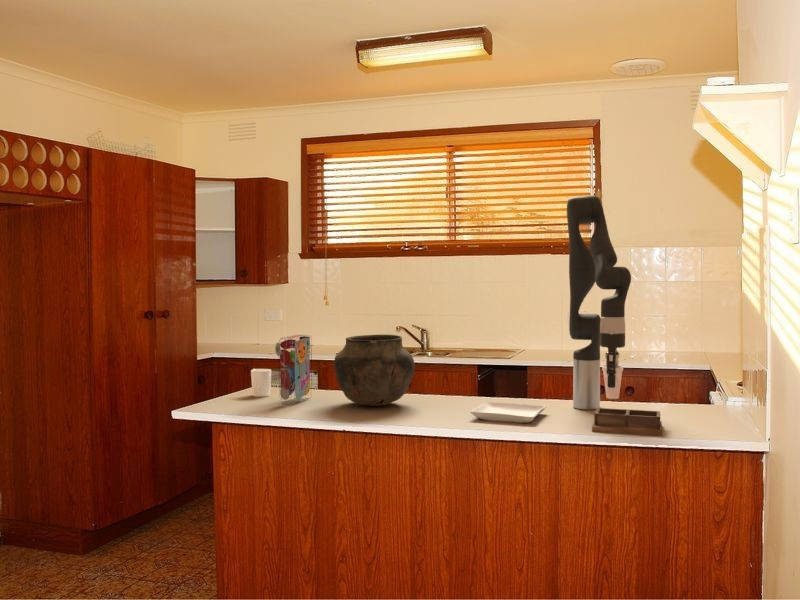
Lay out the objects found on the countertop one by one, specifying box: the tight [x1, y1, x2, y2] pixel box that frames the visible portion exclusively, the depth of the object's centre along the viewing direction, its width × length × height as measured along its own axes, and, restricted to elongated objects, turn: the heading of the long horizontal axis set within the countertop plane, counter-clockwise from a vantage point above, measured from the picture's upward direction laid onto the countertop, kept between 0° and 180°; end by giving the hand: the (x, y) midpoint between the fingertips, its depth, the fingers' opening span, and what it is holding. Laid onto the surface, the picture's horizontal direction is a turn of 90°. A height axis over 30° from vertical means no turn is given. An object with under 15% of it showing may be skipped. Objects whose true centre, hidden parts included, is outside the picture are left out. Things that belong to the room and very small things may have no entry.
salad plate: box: [469, 401, 547, 424], centre depth 250 cm, size 21×21×3 cm
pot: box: [333, 334, 415, 407], centre depth 271 cm, size 29×32×25 cm
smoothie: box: [601, 365, 624, 400], centre depth 232 cm, size 6×6×14 cm
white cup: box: [250, 368, 272, 398], centre depth 294 cm, size 8×8×10 cm
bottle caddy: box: [591, 407, 663, 437], centre depth 231 cm, size 15×20×5 cm
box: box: [274, 334, 313, 406], centre depth 277 cm, size 25×6×24 cm, turn 163°
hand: (612, 385), depth 232 cm, fingers closed on smoothie, 5 cm apart
